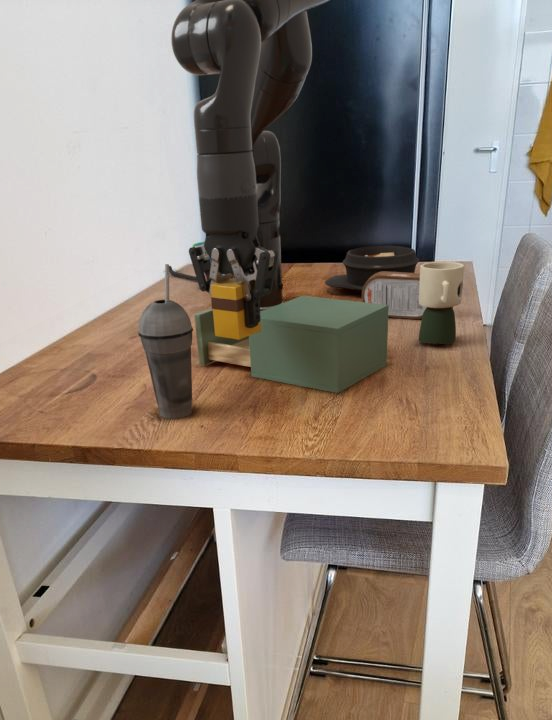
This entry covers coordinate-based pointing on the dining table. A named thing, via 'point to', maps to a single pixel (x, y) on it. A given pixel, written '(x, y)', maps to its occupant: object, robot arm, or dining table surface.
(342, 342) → the cabinet
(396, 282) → the tin
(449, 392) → the dining table surface
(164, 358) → the beverage cup
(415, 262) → the casserole
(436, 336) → the character mug
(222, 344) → the drawer
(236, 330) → the snack box
